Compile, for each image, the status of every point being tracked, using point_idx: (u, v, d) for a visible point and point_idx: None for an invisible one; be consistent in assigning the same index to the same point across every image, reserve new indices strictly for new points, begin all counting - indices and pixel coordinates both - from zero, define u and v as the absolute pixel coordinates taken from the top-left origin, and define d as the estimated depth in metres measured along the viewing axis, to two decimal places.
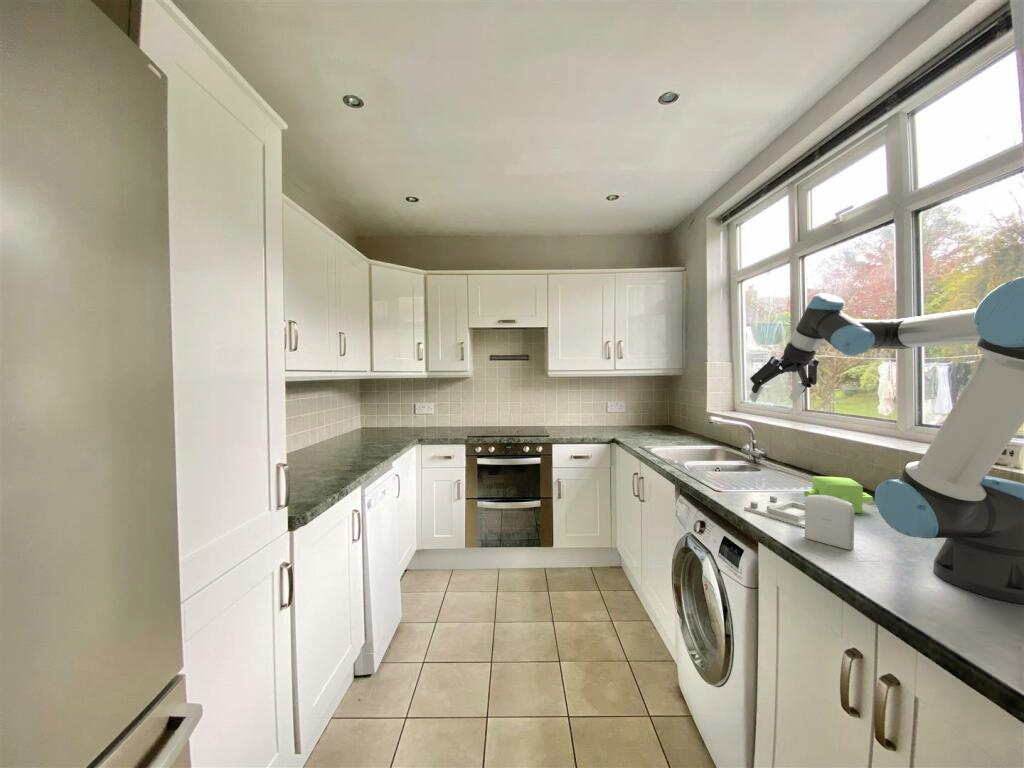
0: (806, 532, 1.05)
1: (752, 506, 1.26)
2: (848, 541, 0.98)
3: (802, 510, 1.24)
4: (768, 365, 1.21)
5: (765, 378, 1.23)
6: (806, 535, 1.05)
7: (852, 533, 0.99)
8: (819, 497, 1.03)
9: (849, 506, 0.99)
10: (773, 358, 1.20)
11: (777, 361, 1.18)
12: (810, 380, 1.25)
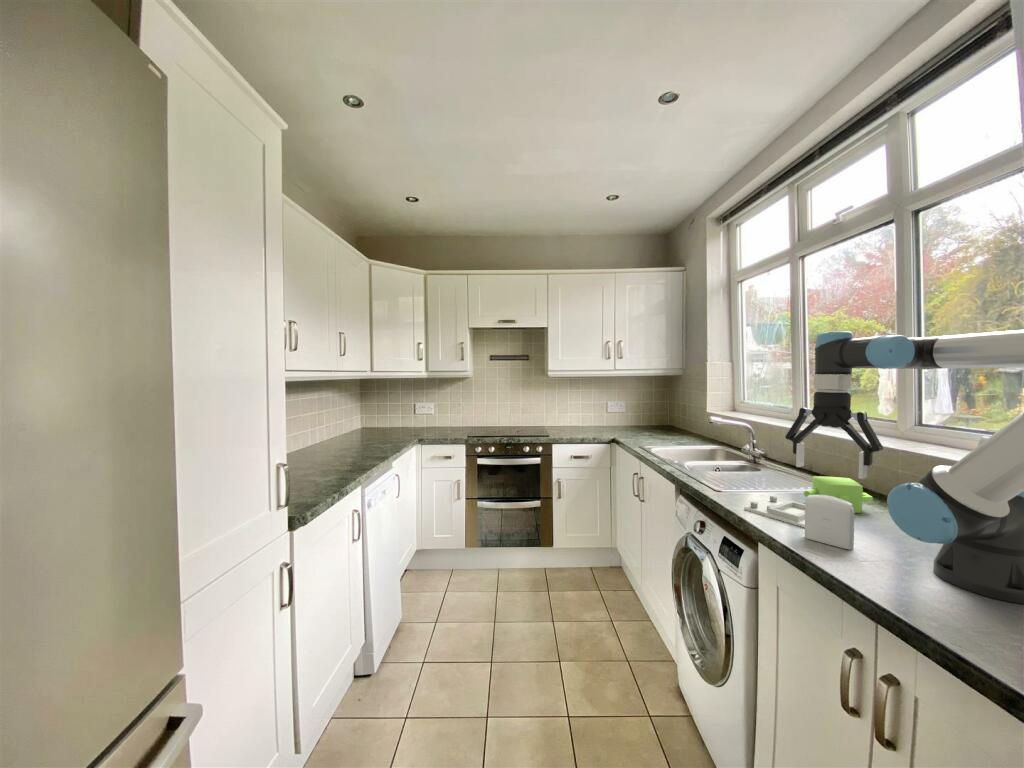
0: (806, 532, 1.05)
1: (752, 506, 1.26)
2: (848, 541, 0.98)
3: (802, 510, 1.24)
4: None
5: None
6: (806, 535, 1.05)
7: (852, 533, 0.99)
8: (819, 497, 1.03)
9: (849, 506, 0.99)
10: None
11: (801, 409, 1.07)
12: None
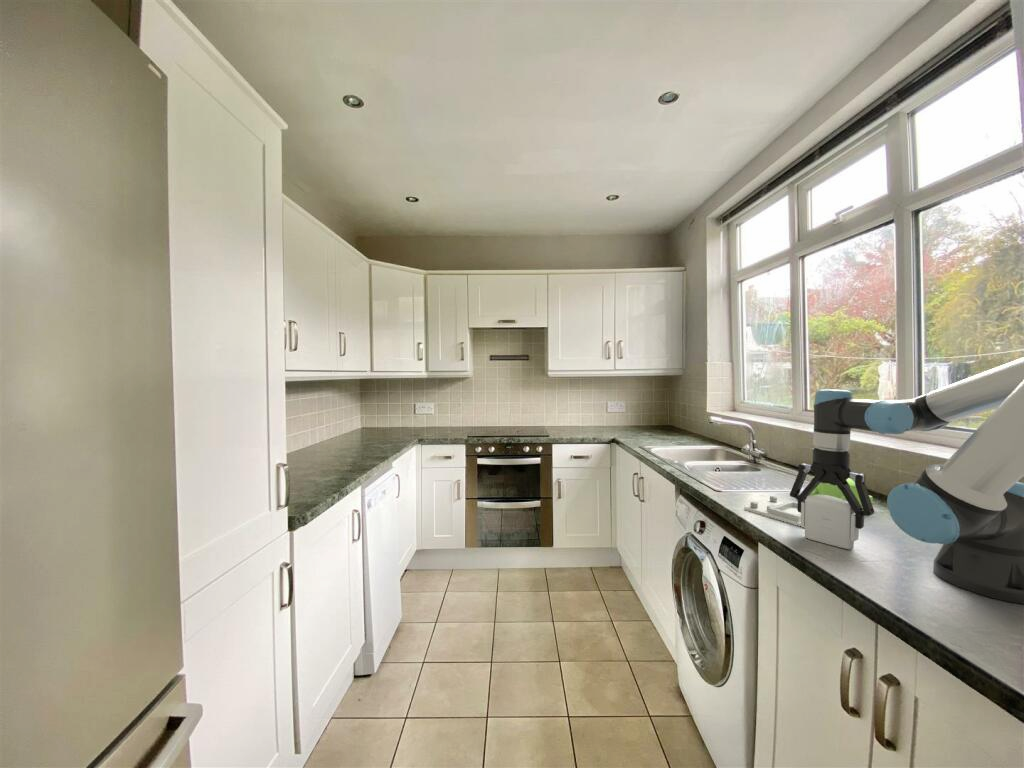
0: (806, 532, 1.05)
1: (752, 506, 1.26)
2: (848, 541, 0.99)
3: None
4: None
5: None
6: (806, 535, 1.05)
7: None
8: (819, 497, 1.03)
9: (849, 506, 0.99)
10: None
11: (800, 465, 1.07)
12: None
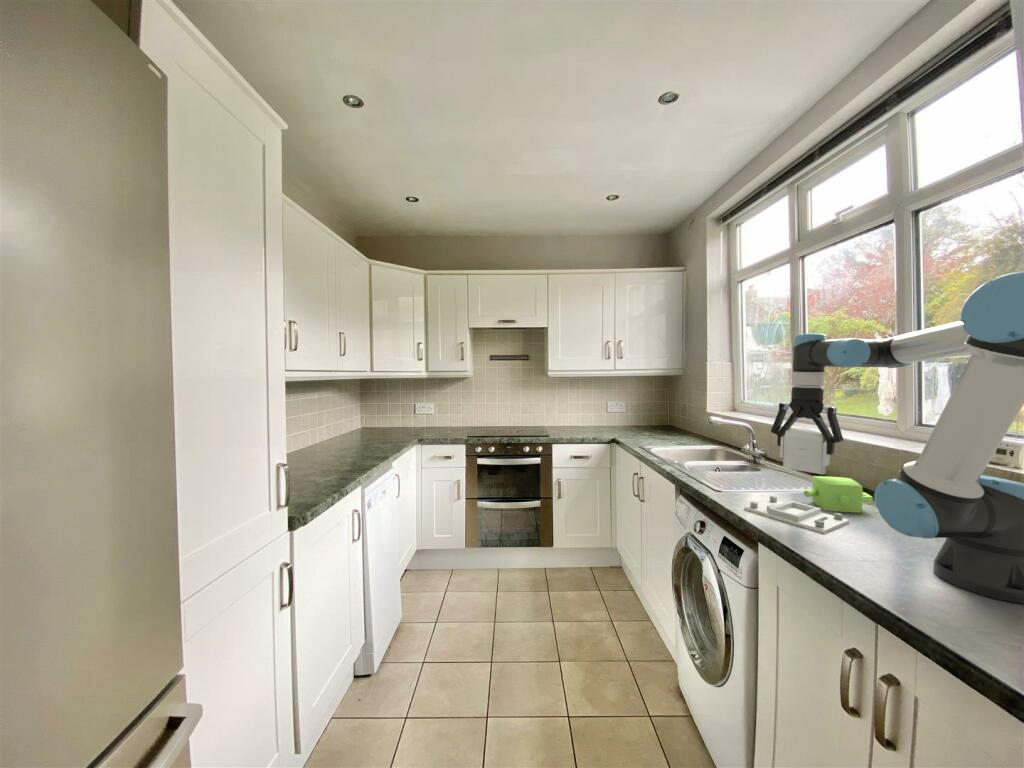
0: (784, 462, 1.18)
1: (752, 506, 1.26)
2: (820, 466, 1.12)
3: (802, 510, 1.24)
4: None
5: (782, 427, 1.20)
6: (784, 465, 1.18)
7: None
8: (796, 430, 1.16)
9: (822, 436, 1.12)
10: None
11: (780, 404, 1.20)
12: None
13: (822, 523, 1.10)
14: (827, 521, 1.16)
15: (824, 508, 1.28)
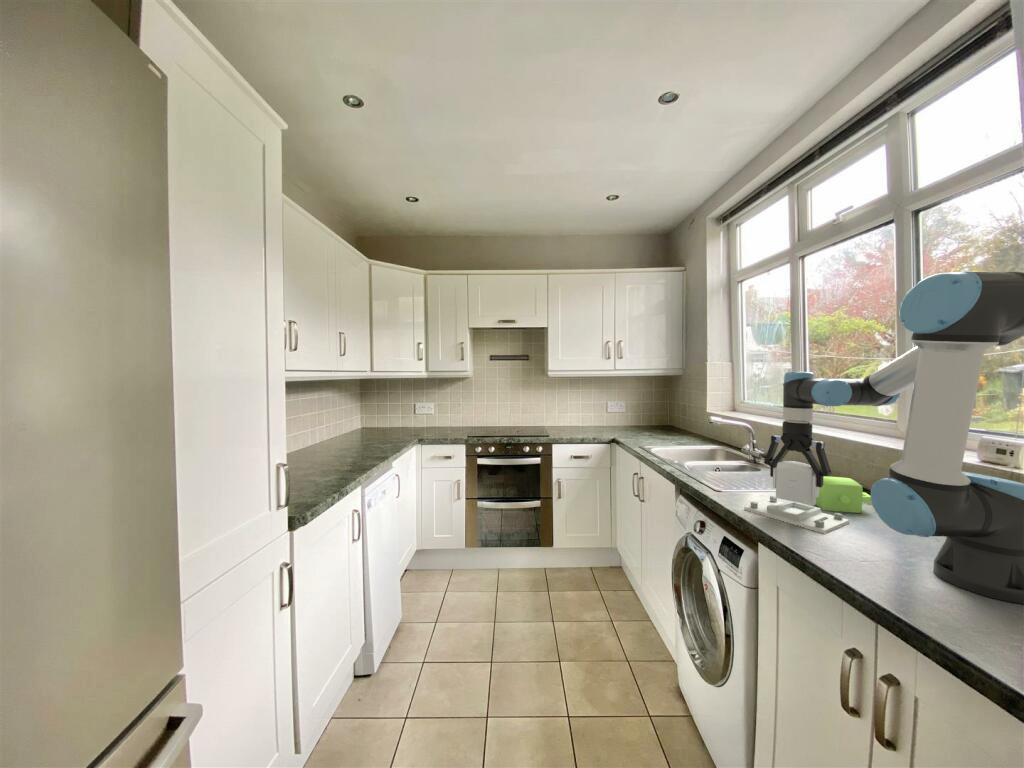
0: (777, 492, 1.24)
1: (752, 506, 1.26)
2: (810, 498, 1.18)
3: (802, 510, 1.24)
4: None
5: None
6: (777, 495, 1.24)
7: None
8: (787, 462, 1.22)
9: (811, 469, 1.18)
10: None
11: (772, 436, 1.26)
12: None
13: (822, 523, 1.10)
14: (827, 521, 1.16)
15: (824, 508, 1.28)
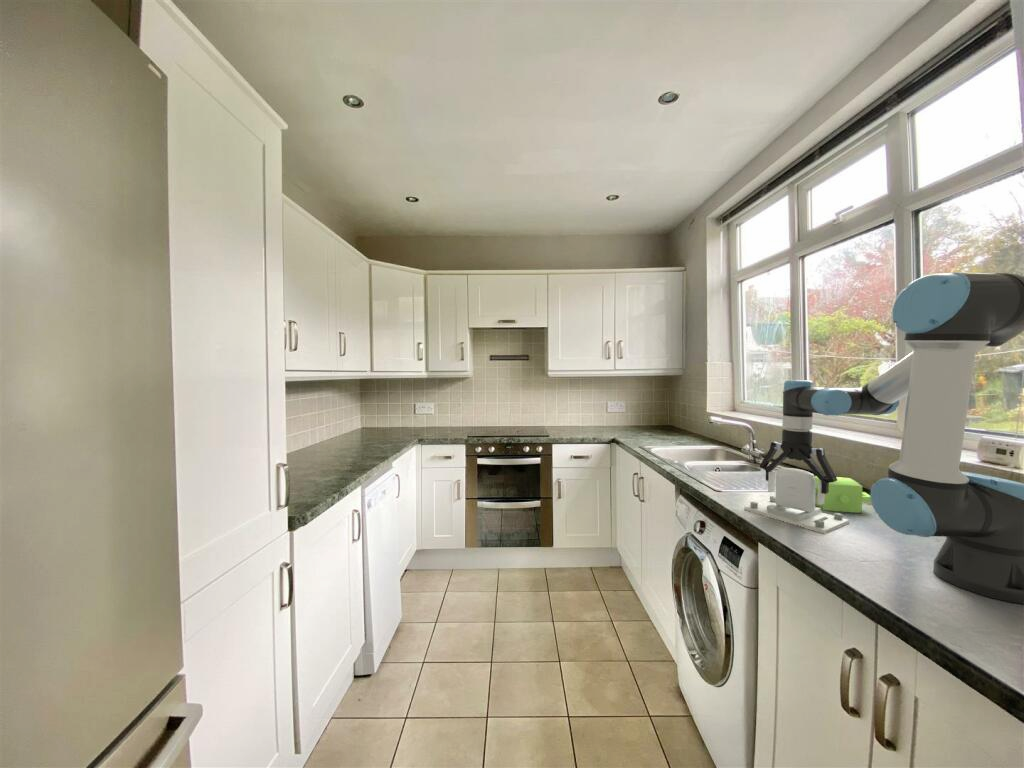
0: (776, 499, 1.24)
1: (752, 506, 1.26)
2: (810, 505, 1.18)
3: None
4: None
5: (771, 463, 1.27)
6: (776, 502, 1.24)
7: (813, 499, 1.18)
8: (787, 469, 1.23)
9: (811, 476, 1.18)
10: None
11: (772, 443, 1.26)
12: None
13: (822, 523, 1.10)
14: (827, 521, 1.16)
15: (824, 508, 1.28)
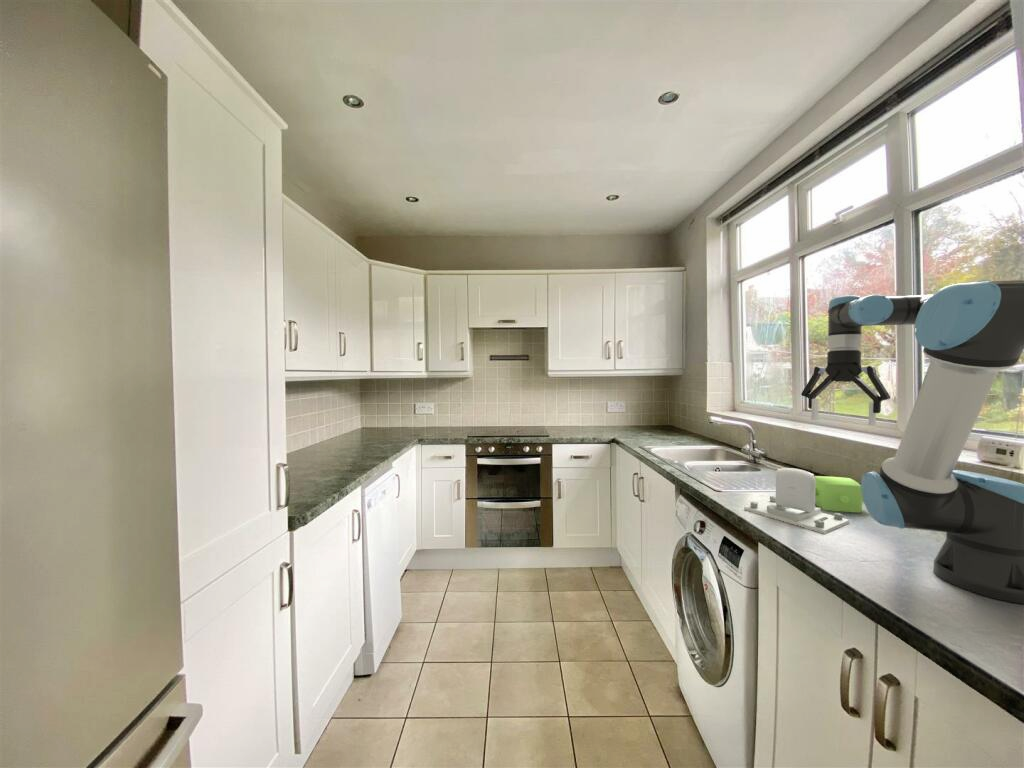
0: (776, 499, 1.24)
1: (752, 506, 1.26)
2: (810, 505, 1.18)
3: None
4: None
5: None
6: (776, 502, 1.24)
7: (813, 499, 1.18)
8: (787, 469, 1.23)
9: (811, 476, 1.18)
10: None
11: (816, 367, 1.20)
12: None
13: (822, 523, 1.10)
14: (827, 521, 1.16)
15: (824, 508, 1.28)
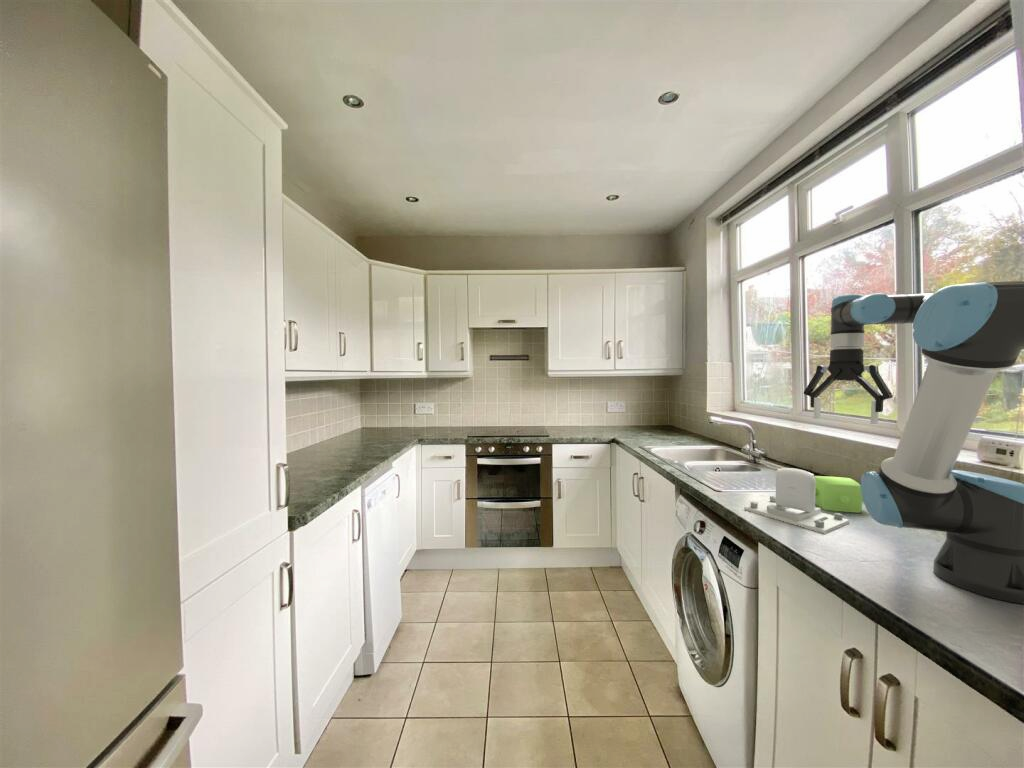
0: (776, 499, 1.24)
1: (752, 506, 1.26)
2: (810, 505, 1.18)
3: None
4: None
5: None
6: (776, 502, 1.24)
7: (813, 499, 1.18)
8: (787, 469, 1.23)
9: (811, 476, 1.18)
10: None
11: (818, 366, 1.20)
12: None
13: (822, 523, 1.10)
14: (827, 521, 1.16)
15: (824, 508, 1.28)
